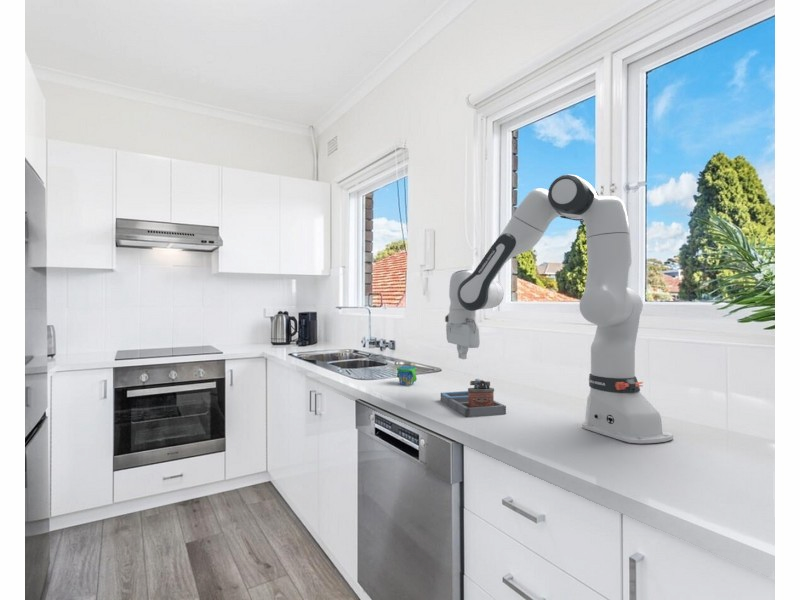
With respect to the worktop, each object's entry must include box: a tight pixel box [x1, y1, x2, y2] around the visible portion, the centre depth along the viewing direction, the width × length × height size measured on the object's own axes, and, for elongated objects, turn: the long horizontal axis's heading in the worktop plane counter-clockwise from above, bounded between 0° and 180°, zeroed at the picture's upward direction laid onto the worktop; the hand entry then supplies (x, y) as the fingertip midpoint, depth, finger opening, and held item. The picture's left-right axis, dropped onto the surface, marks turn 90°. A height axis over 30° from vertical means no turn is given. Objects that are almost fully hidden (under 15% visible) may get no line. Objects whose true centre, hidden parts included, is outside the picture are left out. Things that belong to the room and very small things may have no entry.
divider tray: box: [440, 378, 507, 418], centre depth 147 cm, size 22×14×7 cm, turn 15°
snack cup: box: [396, 365, 418, 387], centre depth 184 cm, size 11×8×7 cm
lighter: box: [467, 379, 495, 408], centre depth 140 cm, size 8×3×10 cm, turn 91°
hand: (462, 358), depth 153 cm, fingers closed
